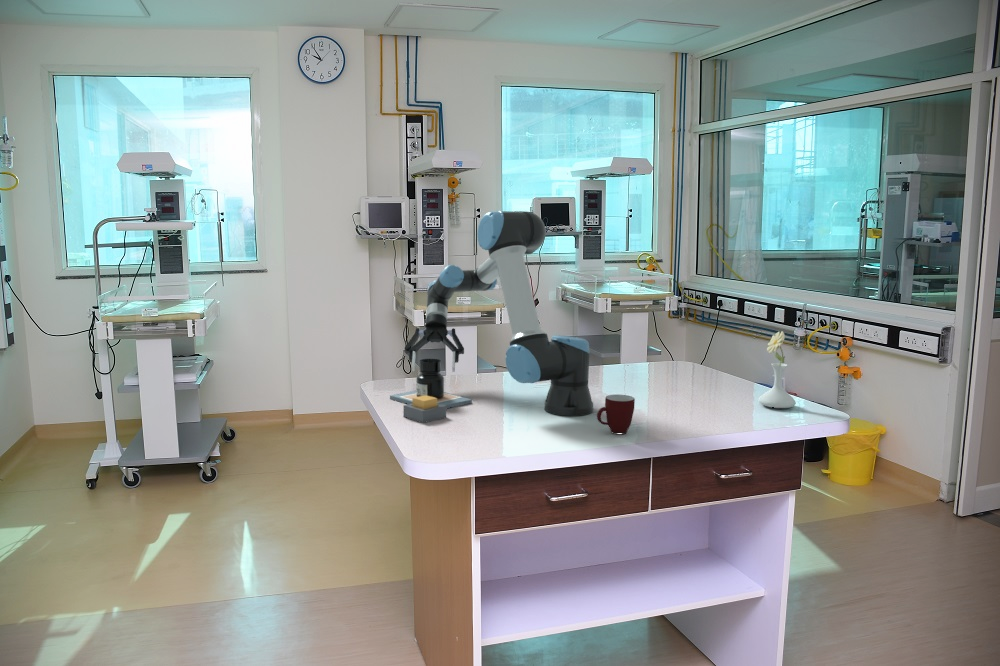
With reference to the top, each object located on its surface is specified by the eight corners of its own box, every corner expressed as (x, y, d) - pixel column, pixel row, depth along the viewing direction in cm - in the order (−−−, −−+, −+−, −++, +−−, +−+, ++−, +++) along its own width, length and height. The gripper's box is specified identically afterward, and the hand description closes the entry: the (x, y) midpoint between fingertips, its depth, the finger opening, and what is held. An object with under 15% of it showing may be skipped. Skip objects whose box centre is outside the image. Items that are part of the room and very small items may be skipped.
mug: (605, 438, 209) (606, 403, 207) (591, 431, 216) (592, 396, 215) (638, 435, 213) (640, 399, 211) (623, 427, 220) (624, 393, 219)
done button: (437, 411, 228) (437, 398, 228) (423, 414, 225) (423, 401, 224) (426, 408, 232) (425, 395, 231) (412, 411, 228) (412, 397, 228)
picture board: (471, 403, 246) (471, 399, 246) (433, 411, 235) (433, 407, 235) (427, 391, 262) (427, 387, 261) (389, 398, 250) (389, 395, 250)
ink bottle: (414, 394, 252) (414, 358, 250) (441, 393, 254) (441, 357, 252) (418, 401, 242) (418, 363, 241) (446, 399, 245) (446, 362, 243)
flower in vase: (758, 401, 254) (763, 326, 250) (795, 404, 250) (800, 328, 246) (757, 410, 241) (762, 331, 238) (796, 413, 238) (801, 334, 234)
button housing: (446, 417, 229) (446, 405, 228) (422, 422, 222) (422, 411, 222) (426, 411, 235) (426, 400, 235) (403, 416, 229) (403, 405, 228)
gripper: (472, 325, 273) (470, 375, 261) (402, 325, 273) (397, 375, 260) (471, 313, 267) (470, 363, 255) (400, 312, 267) (394, 362, 254)
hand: (433, 369), depth 258 cm, fingers open, 13 cm apart
